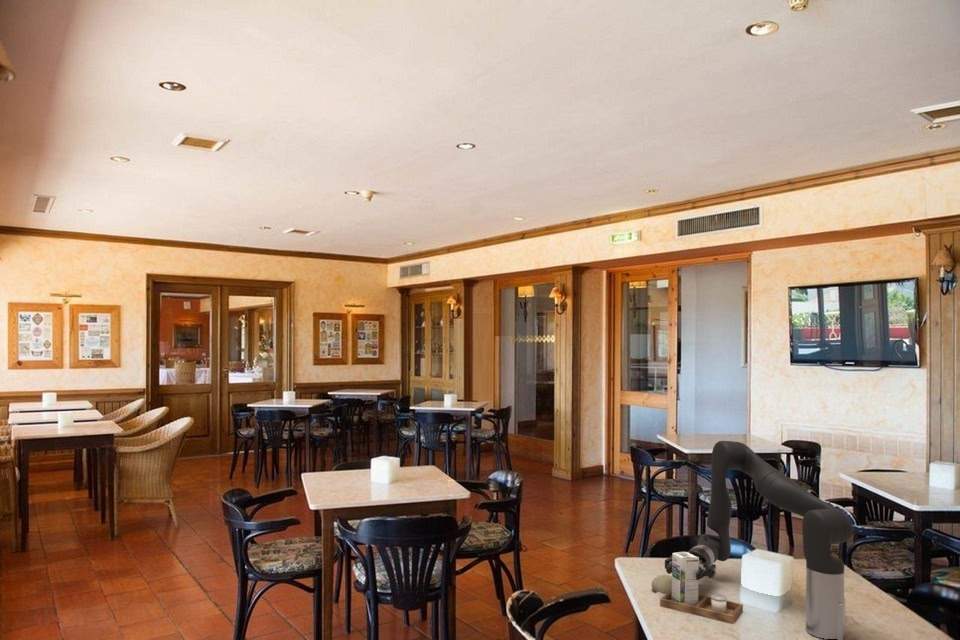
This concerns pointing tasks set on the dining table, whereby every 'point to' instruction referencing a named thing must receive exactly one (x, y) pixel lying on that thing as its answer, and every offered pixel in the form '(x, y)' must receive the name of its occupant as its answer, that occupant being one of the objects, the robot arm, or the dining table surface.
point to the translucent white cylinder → (718, 603)
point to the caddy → (704, 608)
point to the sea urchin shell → (662, 584)
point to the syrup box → (684, 578)
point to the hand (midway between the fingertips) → (682, 573)
